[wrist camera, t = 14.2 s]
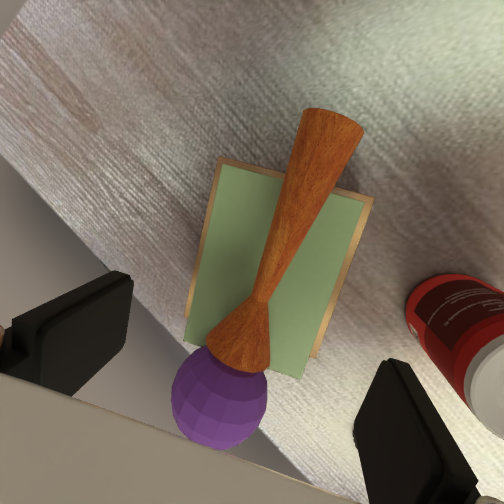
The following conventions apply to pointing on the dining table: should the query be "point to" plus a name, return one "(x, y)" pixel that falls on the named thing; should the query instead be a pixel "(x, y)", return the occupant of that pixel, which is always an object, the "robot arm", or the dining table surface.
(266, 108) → the dining table surface
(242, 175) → the sage block
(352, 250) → the maple block
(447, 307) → the canned food
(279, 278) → the purple wooden maraca
